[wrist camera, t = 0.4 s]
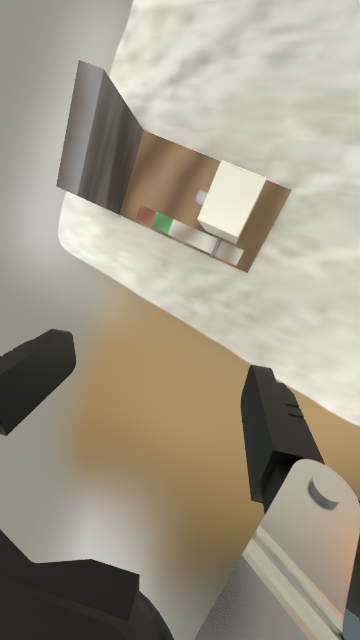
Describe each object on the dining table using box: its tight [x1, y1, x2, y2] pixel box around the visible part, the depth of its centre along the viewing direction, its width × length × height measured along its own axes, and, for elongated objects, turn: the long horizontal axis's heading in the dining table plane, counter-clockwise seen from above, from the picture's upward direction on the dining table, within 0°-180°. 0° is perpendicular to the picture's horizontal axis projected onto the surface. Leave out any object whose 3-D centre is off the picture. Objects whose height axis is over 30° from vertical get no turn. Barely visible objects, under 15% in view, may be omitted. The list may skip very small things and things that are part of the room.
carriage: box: [195, 160, 267, 258], centre depth 27 cm, size 7×9×9 cm
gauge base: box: [57, 60, 291, 272], centre depth 27 cm, size 28×12×12 cm, turn 67°
